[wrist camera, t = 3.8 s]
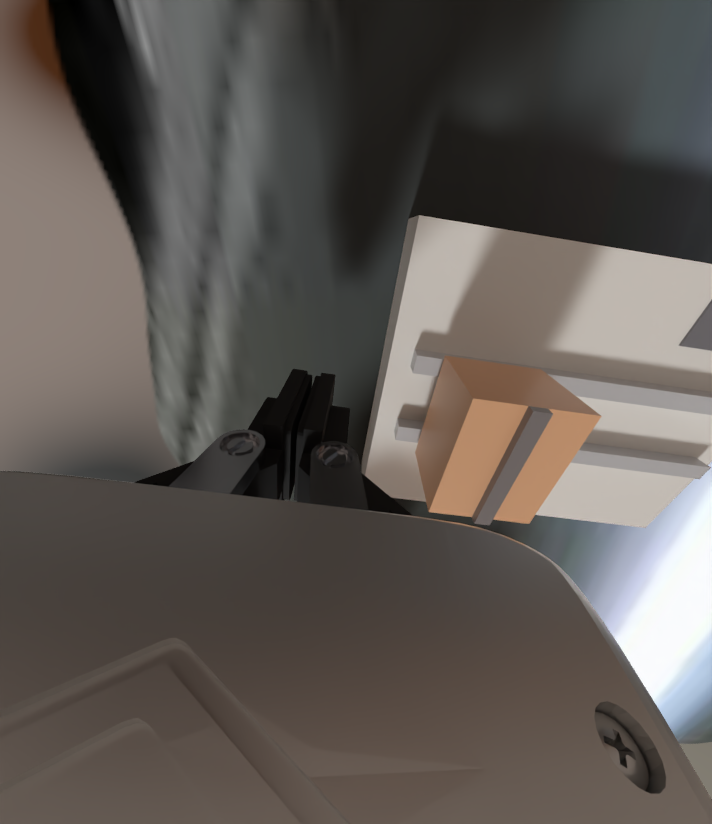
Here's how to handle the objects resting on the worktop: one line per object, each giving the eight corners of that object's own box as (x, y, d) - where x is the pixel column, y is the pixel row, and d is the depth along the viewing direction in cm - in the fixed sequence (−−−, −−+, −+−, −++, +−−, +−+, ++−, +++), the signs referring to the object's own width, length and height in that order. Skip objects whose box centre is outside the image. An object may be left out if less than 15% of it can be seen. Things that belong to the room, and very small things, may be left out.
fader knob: (528, 359, 13) (608, 421, 9) (486, 448, 16) (532, 530, 11) (439, 346, 13) (476, 403, 8) (412, 438, 15) (430, 518, 11)
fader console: (785, 281, 14) (913, 295, 11) (611, 491, 21) (656, 539, 18) (408, 218, 13) (423, 213, 10) (361, 460, 20) (361, 504, 17)
